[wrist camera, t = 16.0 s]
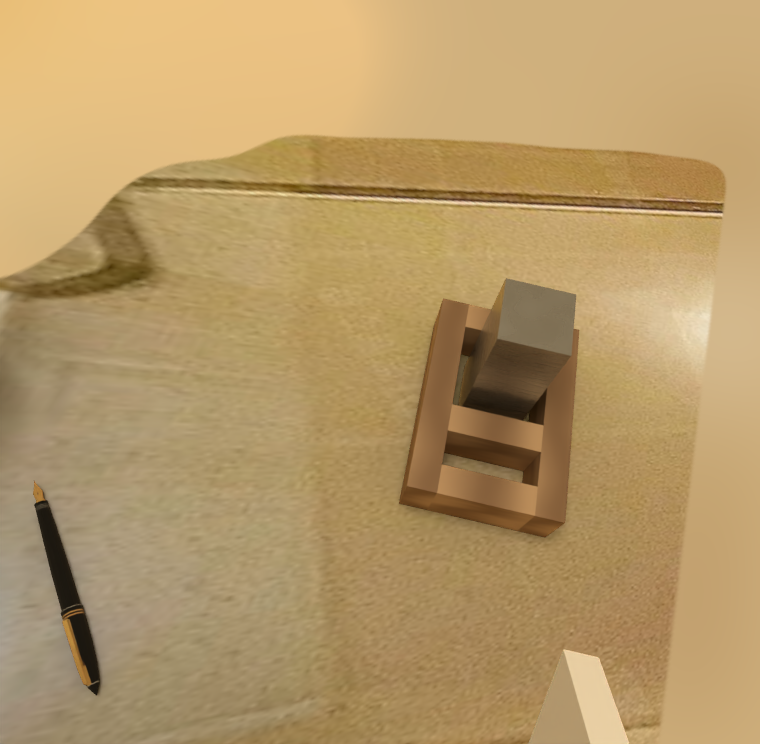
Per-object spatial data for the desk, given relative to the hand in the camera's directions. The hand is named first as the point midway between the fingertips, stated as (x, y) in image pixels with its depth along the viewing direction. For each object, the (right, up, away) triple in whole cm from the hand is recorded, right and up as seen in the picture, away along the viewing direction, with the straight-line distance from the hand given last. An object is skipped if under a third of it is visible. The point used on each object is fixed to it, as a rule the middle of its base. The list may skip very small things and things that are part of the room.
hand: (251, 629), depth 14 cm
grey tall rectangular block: (+11, +3, +37) cm, 38 cm away
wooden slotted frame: (+11, +2, +36) cm, 37 cm away
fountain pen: (-17, -8, +28) cm, 34 cm away
